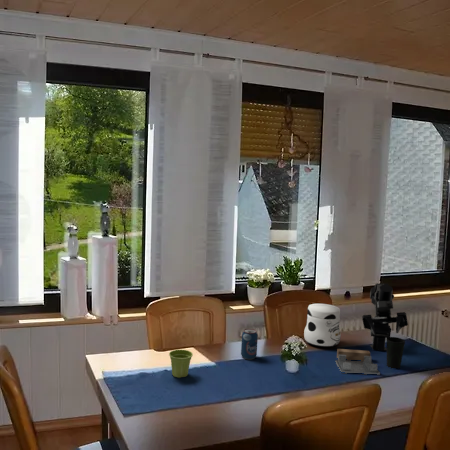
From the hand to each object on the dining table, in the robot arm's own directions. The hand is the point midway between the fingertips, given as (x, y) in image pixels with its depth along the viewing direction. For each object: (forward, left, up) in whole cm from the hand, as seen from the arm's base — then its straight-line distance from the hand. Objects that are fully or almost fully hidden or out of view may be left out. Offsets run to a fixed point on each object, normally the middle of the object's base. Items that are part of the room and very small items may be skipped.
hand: (385, 333), depth 218 cm
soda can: (-5, -58, -16) cm, 60 cm away
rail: (-9, -11, -16) cm, 21 cm away
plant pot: (+18, -86, -16) cm, 89 cm away
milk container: (-27, -21, -16) cm, 38 cm away
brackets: (+2, -12, -15) cm, 19 cm away
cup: (-2, +5, -16) cm, 17 cm away
